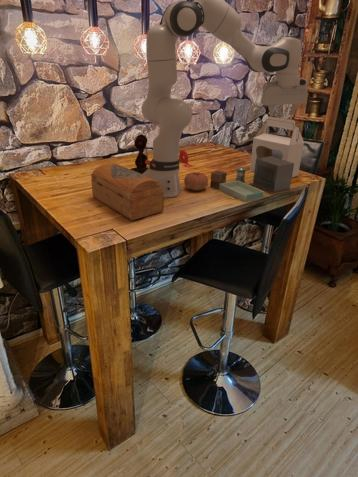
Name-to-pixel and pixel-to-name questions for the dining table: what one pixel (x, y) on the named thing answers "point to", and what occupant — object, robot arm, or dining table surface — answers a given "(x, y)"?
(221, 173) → the walnut block
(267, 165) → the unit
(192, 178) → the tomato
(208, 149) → the dining table surface
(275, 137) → the gable box
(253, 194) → the tray
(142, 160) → the dark statuette
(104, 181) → the wooden box
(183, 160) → the bracket
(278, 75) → the robot arm
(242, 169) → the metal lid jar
